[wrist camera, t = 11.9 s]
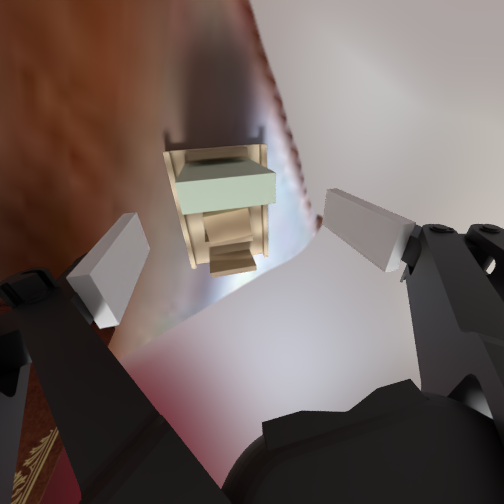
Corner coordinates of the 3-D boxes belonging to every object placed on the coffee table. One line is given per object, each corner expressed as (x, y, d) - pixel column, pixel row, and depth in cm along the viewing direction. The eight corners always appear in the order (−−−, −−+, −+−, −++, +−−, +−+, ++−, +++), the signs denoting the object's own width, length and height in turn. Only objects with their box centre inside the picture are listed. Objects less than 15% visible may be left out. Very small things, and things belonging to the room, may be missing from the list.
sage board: (184, 163, 31) (174, 182, 20) (248, 158, 33) (275, 172, 21) (189, 185, 33) (182, 214, 21) (250, 179, 35) (275, 203, 23)
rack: (265, 250, 43) (275, 269, 37) (192, 262, 41) (191, 283, 35) (262, 143, 33) (275, 146, 27) (165, 151, 31) (156, 155, 25)
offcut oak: (202, 209, 32) (202, 217, 29) (243, 201, 33) (247, 208, 30) (209, 234, 34) (210, 244, 31) (248, 226, 35) (252, 234, 32)
